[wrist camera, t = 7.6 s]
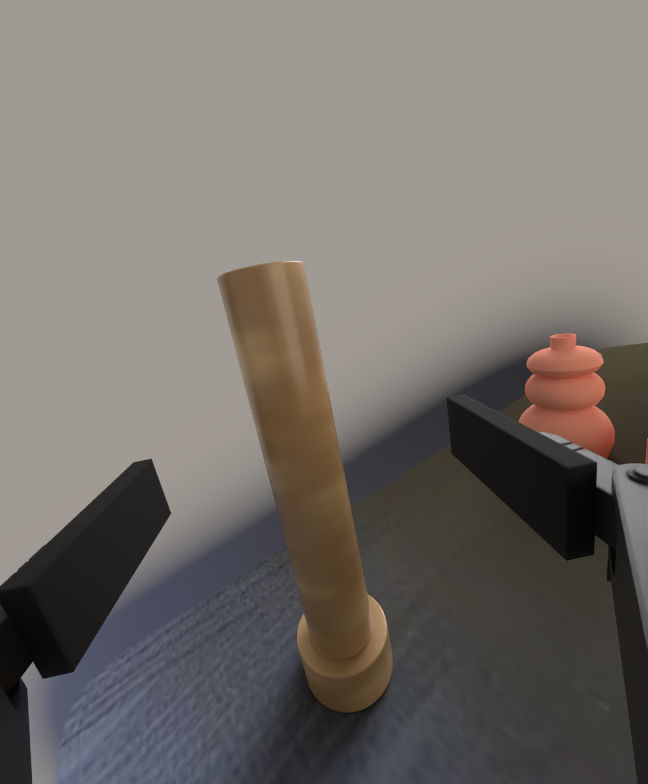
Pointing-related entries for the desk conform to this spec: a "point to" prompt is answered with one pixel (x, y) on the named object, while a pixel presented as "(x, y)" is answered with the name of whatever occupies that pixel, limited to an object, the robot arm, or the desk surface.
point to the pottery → (569, 395)
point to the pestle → (308, 482)
